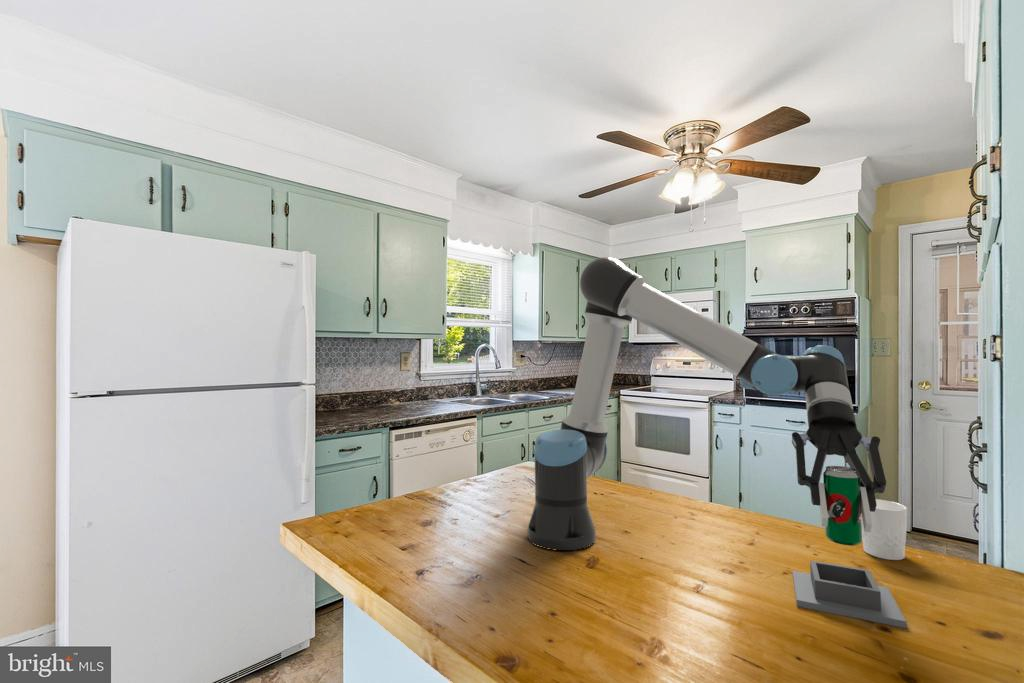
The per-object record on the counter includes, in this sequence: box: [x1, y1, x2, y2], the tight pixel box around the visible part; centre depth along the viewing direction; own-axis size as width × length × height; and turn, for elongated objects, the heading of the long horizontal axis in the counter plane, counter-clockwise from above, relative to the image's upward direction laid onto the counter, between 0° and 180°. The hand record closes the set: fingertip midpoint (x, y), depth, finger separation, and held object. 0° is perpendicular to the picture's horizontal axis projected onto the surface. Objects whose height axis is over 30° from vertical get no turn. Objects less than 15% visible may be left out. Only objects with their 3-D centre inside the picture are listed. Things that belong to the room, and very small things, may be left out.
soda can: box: [822, 465, 863, 547], centre depth 80 cm, size 5×5×12 cm
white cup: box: [861, 498, 908, 561], centre depth 98 cm, size 8×8×10 cm
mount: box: [792, 560, 907, 629], centre depth 79 cm, size 14×12×4 cm
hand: (846, 525), depth 76 cm, fingers closed on soda can, 5 cm apart
